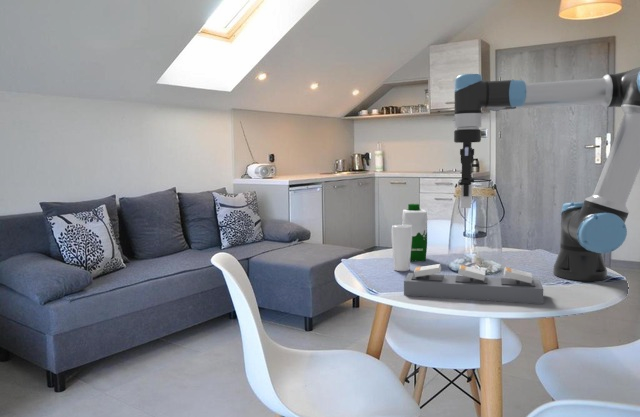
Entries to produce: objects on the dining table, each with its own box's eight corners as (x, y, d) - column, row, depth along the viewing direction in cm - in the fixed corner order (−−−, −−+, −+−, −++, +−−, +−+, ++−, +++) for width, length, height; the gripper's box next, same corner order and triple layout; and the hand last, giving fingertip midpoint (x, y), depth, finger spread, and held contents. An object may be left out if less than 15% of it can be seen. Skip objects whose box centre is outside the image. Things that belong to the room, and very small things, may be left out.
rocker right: (529, 278, 146) (531, 272, 146) (531, 283, 142) (533, 277, 141) (503, 272, 148) (505, 266, 148) (504, 276, 143) (505, 270, 143)
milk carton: (424, 256, 200) (424, 203, 198) (428, 261, 191) (429, 206, 189) (401, 256, 200) (401, 203, 198) (403, 262, 192) (404, 206, 189)
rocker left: (441, 269, 153) (440, 263, 153) (439, 273, 148) (438, 267, 148) (417, 272, 155) (415, 267, 155) (415, 277, 150) (413, 271, 150)
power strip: (539, 293, 148) (539, 276, 148) (542, 304, 139) (543, 285, 138) (408, 286, 159) (408, 269, 158) (403, 295, 149) (403, 277, 149)
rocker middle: (483, 276, 150) (485, 270, 149) (483, 280, 145) (485, 274, 145) (458, 270, 152) (460, 264, 151) (457, 274, 147) (459, 268, 147)
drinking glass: (387, 270, 180) (387, 225, 178) (400, 266, 184) (401, 223, 182) (402, 273, 175) (402, 227, 173) (416, 270, 179) (416, 225, 177)
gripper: (456, 130, 167) (455, 201, 170) (452, 128, 146) (451, 209, 149) (481, 129, 165) (480, 202, 167) (480, 127, 144) (479, 210, 147)
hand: (466, 205), depth 158 cm, fingers open, 9 cm apart
